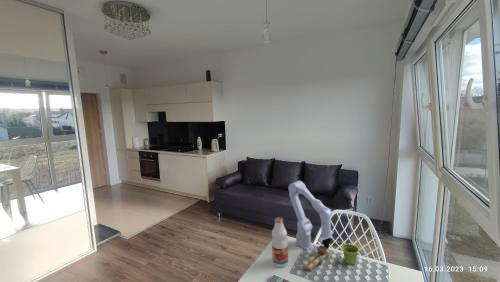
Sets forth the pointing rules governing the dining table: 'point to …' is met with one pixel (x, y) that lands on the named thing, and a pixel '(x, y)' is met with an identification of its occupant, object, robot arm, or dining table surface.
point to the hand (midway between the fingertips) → (326, 248)
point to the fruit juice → (279, 244)
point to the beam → (314, 261)
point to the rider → (321, 250)
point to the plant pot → (350, 253)
